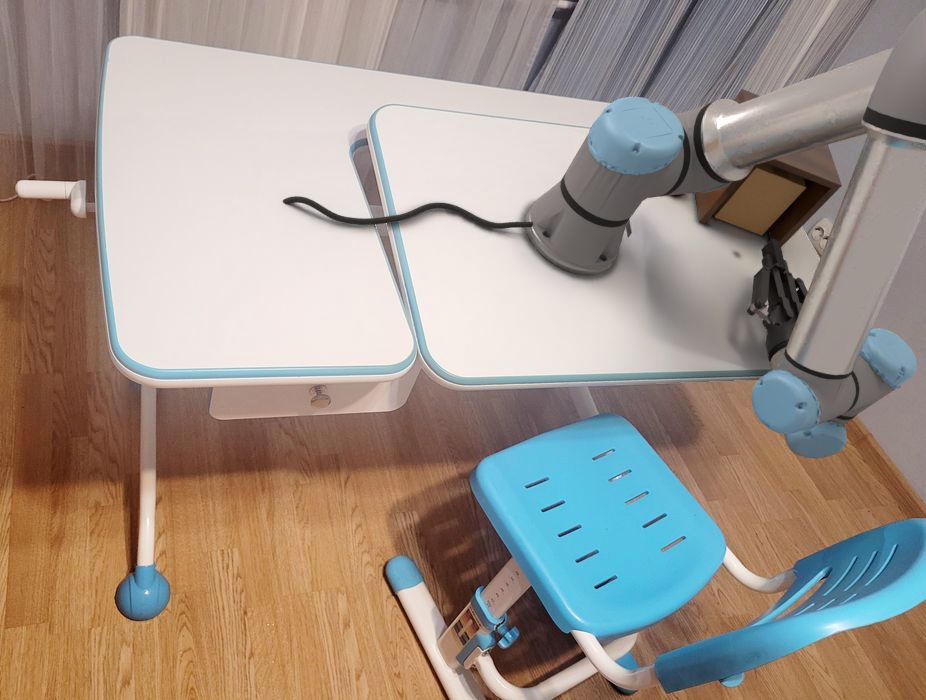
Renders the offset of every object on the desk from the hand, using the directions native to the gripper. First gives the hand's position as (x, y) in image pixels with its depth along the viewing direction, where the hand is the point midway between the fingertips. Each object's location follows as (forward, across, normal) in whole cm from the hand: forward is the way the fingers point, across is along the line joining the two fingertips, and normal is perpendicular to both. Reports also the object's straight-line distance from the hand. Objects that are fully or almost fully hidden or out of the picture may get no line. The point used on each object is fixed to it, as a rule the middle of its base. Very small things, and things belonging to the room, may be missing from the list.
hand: (770, 245), depth 125 cm
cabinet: (+17, 0, -7) cm, 18 cm away
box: (+19, 0, -7) cm, 20 cm away
